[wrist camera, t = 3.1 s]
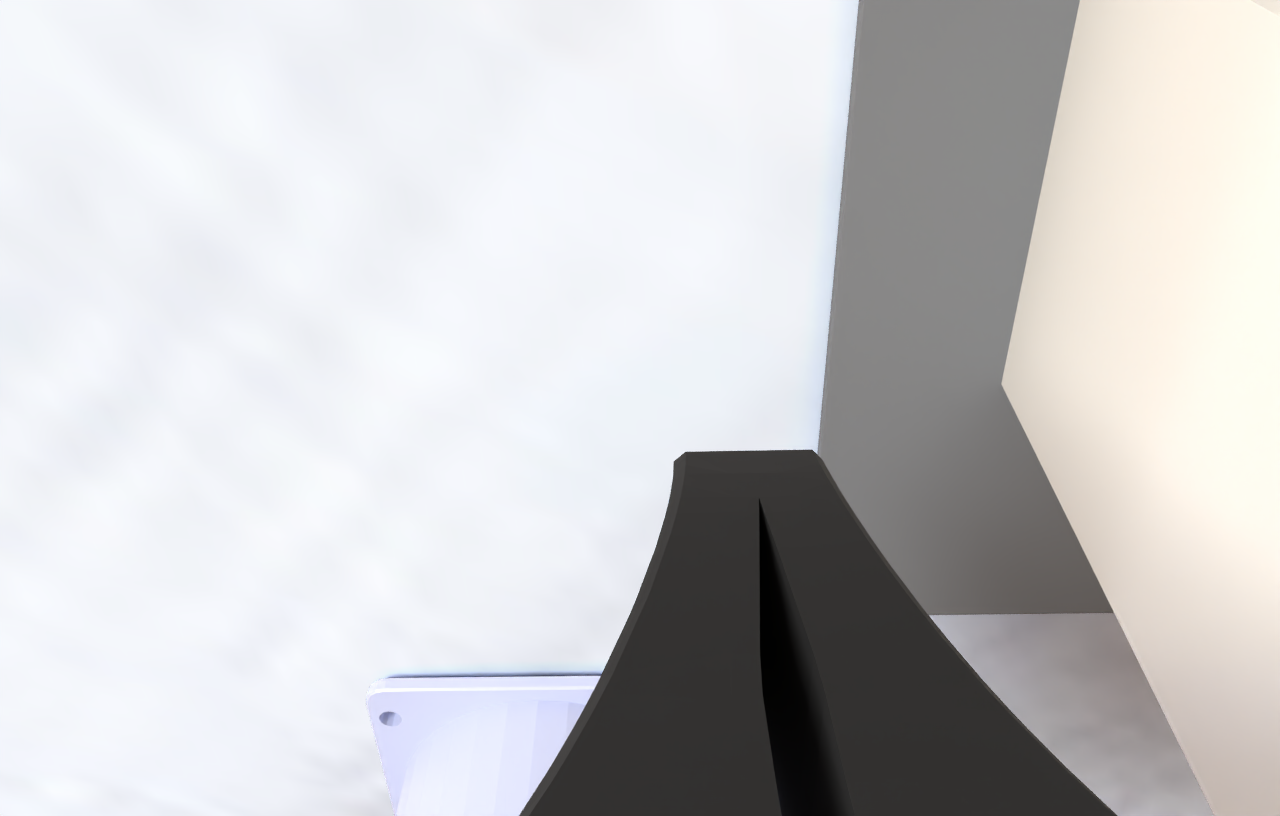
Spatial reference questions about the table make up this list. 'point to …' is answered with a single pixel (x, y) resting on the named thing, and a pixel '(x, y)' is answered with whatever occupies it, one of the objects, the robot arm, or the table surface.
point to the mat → (947, 303)
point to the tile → (1169, 360)
